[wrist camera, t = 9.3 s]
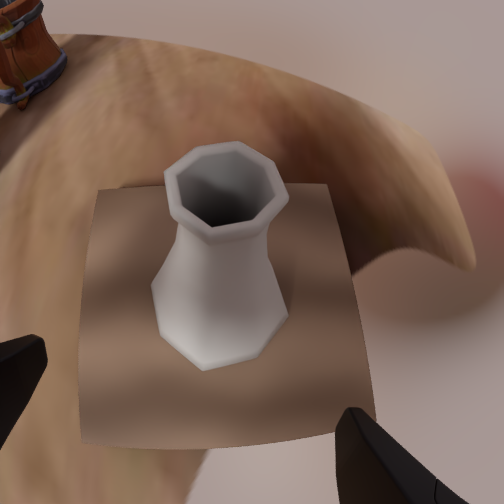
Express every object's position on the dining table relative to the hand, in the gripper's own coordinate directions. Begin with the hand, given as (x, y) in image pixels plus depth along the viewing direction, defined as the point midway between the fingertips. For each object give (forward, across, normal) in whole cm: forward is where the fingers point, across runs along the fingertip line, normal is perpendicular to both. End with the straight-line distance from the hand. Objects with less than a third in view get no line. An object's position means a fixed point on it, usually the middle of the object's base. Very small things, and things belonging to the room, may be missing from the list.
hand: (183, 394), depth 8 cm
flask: (+9, 0, +2) cm, 9 cm away
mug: (+25, +30, -12) cm, 41 cm away
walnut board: (+11, 0, +3) cm, 11 cm away
